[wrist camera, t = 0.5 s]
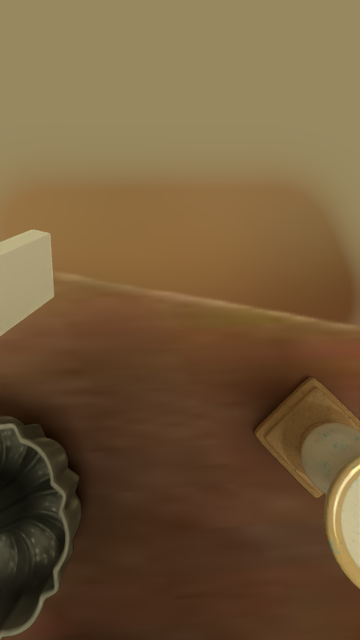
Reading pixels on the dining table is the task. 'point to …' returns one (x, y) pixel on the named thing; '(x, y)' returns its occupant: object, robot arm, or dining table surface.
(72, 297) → the dining table surface
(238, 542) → the dining table surface
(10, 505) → the bundt pan
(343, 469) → the candle holder
